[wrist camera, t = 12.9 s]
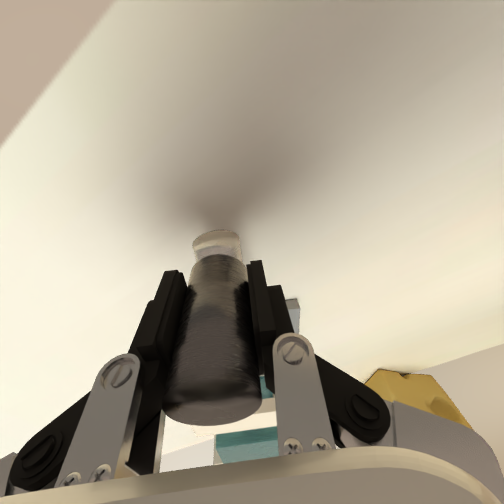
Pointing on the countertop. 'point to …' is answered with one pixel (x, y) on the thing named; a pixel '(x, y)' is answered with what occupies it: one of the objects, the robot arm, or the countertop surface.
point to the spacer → (249, 440)
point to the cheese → (416, 393)
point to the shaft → (214, 340)
